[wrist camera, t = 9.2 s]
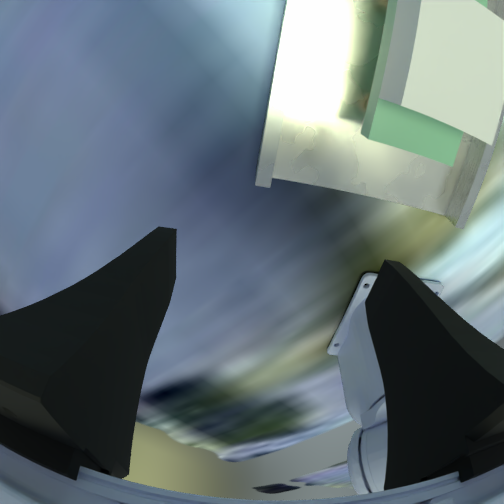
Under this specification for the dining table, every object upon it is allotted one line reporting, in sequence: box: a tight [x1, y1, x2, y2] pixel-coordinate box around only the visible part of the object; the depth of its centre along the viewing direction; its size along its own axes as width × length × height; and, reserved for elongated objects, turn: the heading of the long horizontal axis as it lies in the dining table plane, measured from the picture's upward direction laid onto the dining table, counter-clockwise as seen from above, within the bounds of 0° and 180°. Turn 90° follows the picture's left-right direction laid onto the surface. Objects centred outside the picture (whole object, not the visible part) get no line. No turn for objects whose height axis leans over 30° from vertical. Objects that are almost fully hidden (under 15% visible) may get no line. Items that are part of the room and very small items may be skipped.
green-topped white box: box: [360, 0, 504, 167], centre depth 9 cm, size 10×5×4 cm, turn 171°
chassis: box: [255, 0, 504, 229], centre depth 12 cm, size 18×14×3 cm
